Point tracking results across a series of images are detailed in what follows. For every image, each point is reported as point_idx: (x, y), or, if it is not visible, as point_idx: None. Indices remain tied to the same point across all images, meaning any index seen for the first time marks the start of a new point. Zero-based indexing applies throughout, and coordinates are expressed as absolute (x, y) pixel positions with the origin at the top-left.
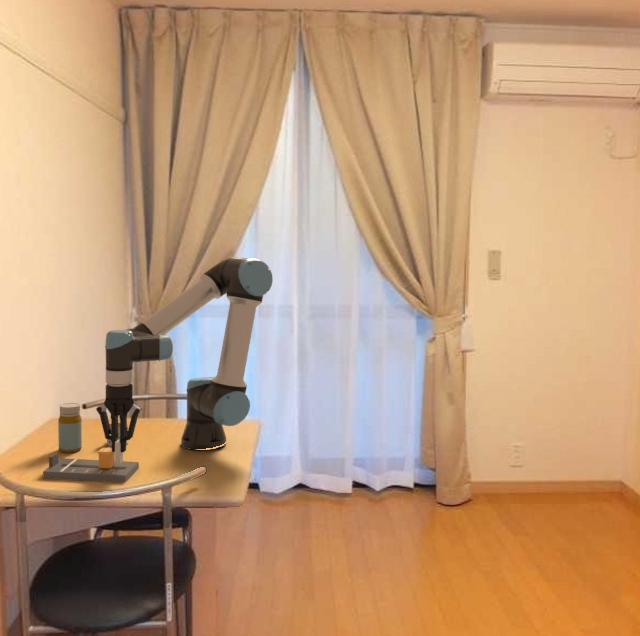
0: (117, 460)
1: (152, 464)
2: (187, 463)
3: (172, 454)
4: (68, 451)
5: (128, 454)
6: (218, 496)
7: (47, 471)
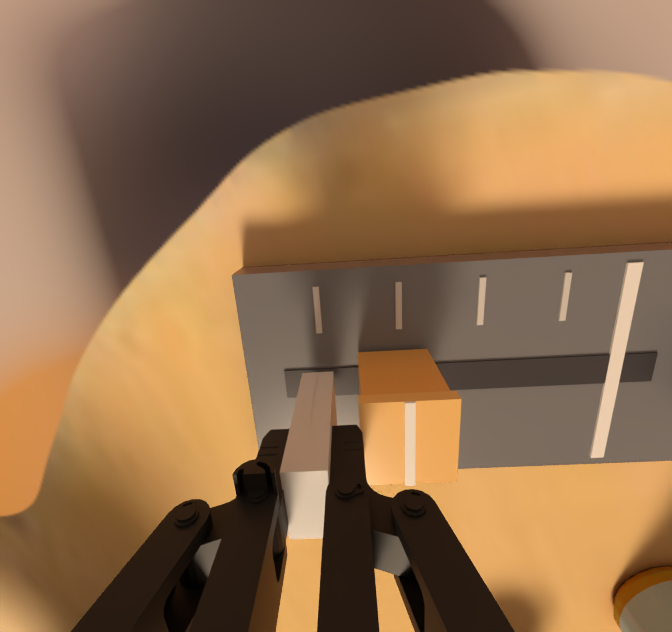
0: (315, 382)
1: None
2: (95, 538)
3: None
4: (662, 572)
5: (387, 589)
6: None
7: None
